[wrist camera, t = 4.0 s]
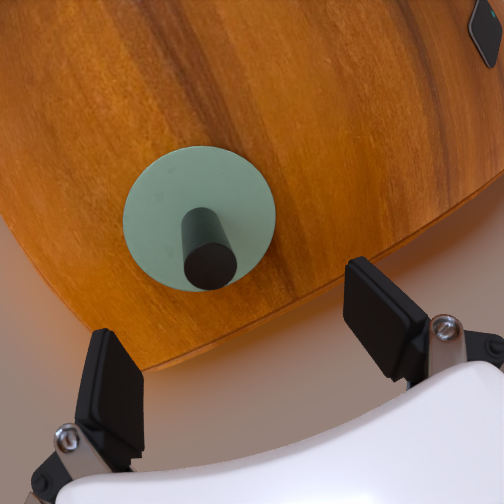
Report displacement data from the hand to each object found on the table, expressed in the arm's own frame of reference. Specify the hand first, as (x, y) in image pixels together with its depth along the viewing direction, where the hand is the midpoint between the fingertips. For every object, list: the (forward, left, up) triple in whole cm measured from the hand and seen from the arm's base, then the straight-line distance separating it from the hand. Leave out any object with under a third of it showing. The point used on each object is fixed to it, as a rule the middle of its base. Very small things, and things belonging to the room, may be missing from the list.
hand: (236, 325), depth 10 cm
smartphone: (+44, +22, -12) cm, 50 cm away
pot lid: (0, 0, -11) cm, 11 cm away
